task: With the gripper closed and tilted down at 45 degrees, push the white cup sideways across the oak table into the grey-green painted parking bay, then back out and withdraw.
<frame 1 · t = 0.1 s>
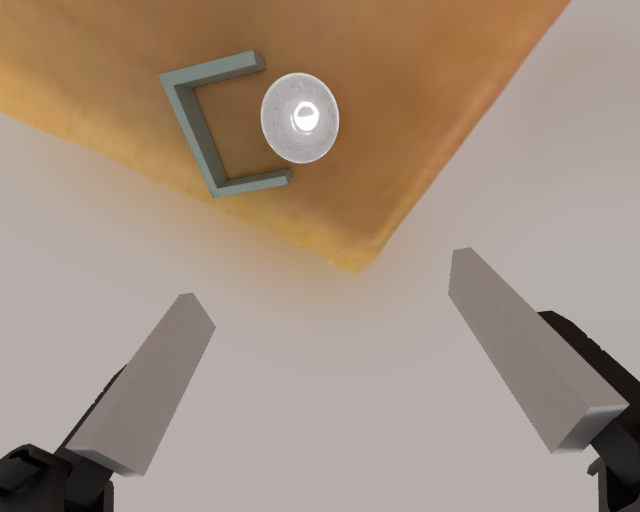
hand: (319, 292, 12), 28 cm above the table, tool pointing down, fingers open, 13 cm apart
parking bay: (244, 131, 33), on the table
white cup: (307, 117, 32), on the table
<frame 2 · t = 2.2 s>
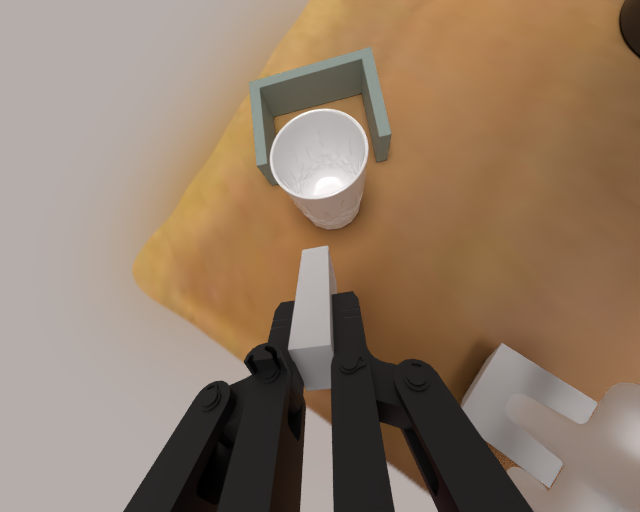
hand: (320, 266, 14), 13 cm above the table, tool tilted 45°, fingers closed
figurine: (496, 392, 22), on the table
parking bay: (321, 138, 30), on the table
white cup: (332, 203, 28), on the table
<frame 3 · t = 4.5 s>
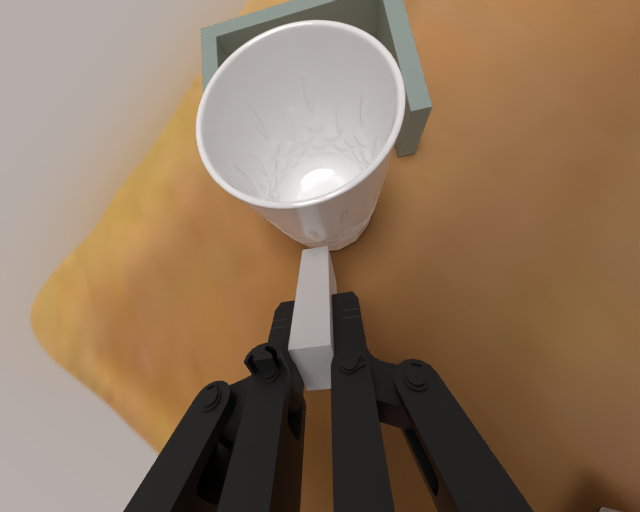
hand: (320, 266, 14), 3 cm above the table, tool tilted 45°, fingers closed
parking bay: (314, 120, 20), on the table
white cup: (327, 210, 18), on the table, touching gripper
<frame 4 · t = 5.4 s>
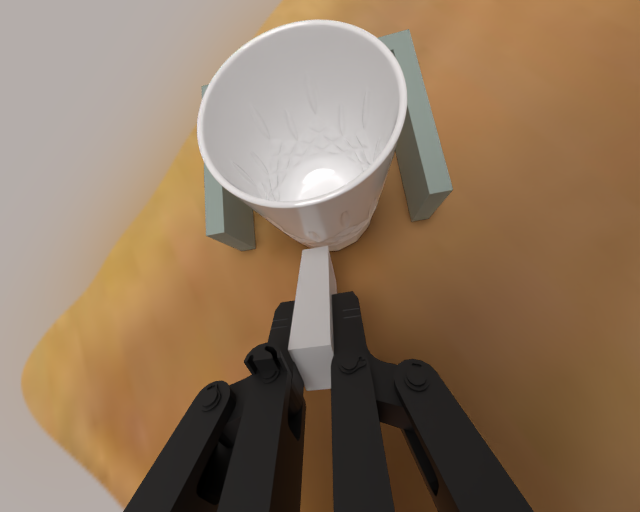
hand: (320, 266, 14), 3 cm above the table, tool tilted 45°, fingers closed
parking bay: (321, 176, 19), on the table
white cup: (328, 210, 18), on the table, touching gripper
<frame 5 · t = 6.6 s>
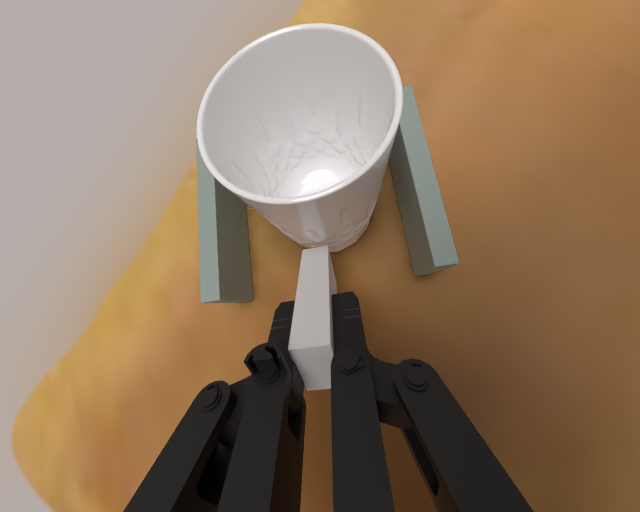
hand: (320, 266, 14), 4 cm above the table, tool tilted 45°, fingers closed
parking bay: (321, 225, 18), on the table
white cup: (327, 212, 19), on the table, touching gripper
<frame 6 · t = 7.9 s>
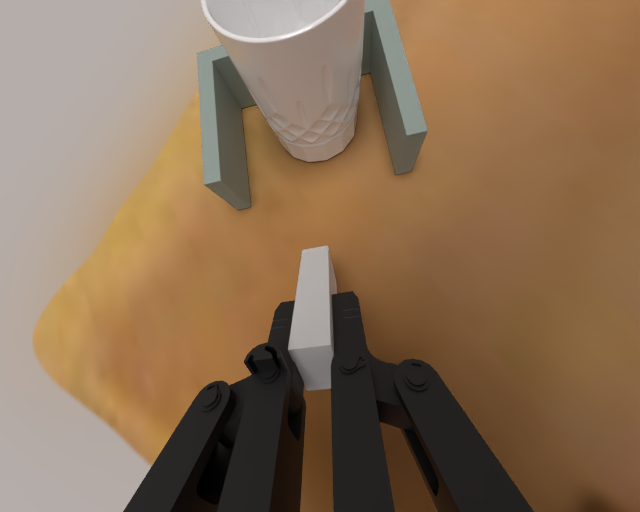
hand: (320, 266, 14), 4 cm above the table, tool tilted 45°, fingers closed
parking bay: (311, 138, 20), on the table
white cup: (317, 129, 20), on the table
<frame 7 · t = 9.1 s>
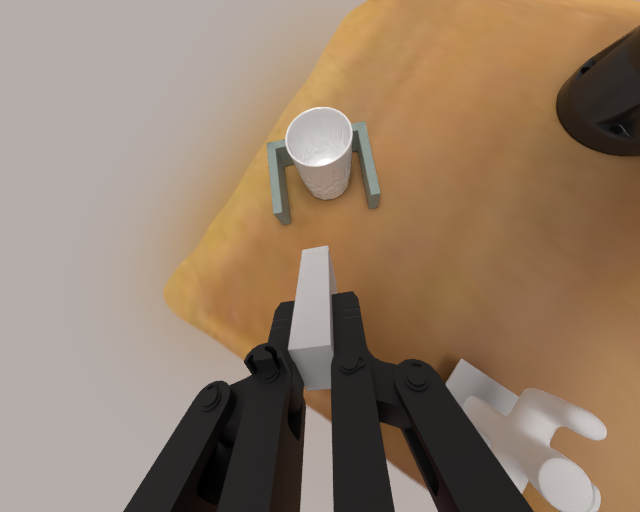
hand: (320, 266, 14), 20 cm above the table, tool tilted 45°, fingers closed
figurine: (460, 396, 28), on the table
parking bay: (324, 186, 37), on the table
white cup: (328, 181, 37), on the table
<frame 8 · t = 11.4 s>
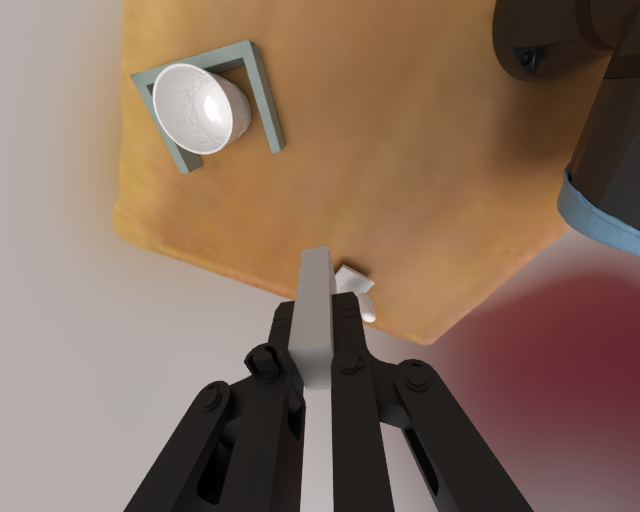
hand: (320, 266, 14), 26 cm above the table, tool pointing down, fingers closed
figurine: (346, 275, 48), on the table
parking bay: (225, 119, 33), on the table
white cup: (227, 110, 33), on the table
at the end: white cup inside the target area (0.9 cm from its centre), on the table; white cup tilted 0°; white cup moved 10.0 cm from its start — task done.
